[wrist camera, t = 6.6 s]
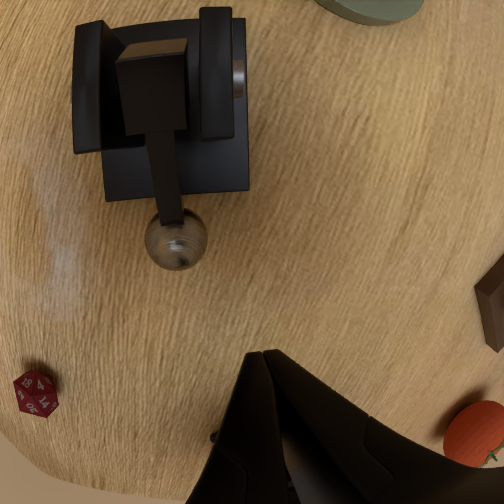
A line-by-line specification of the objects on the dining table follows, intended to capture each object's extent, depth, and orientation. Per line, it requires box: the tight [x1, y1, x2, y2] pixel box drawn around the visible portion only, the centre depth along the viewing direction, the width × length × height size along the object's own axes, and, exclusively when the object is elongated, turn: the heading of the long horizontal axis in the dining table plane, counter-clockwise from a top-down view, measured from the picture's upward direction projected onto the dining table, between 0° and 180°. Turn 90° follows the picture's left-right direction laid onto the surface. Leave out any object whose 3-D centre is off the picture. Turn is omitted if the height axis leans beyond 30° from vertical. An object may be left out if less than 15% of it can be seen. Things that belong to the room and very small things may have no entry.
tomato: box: [443, 400, 504, 468], centre depth 28 cm, size 10×10×10 cm
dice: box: [13, 370, 59, 418], centre depth 19 cm, size 4×4×4 cm
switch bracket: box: [71, 7, 250, 202], centre depth 12 cm, size 10×8×9 cm
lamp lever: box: [114, 38, 208, 271], centre depth 13 cm, size 11×3×3 cm, turn 1°
